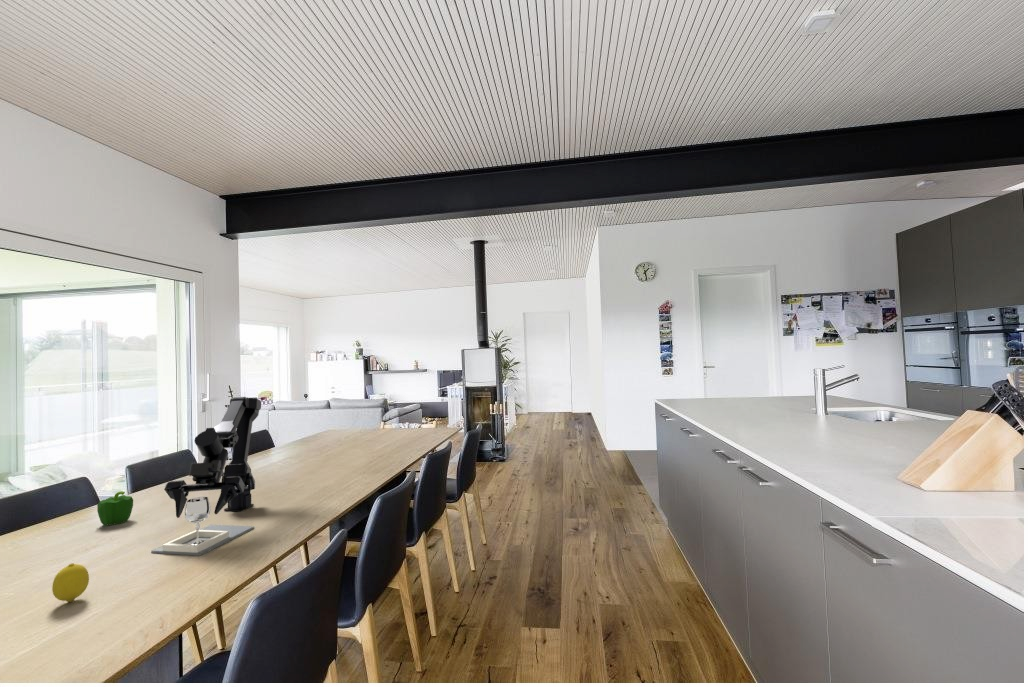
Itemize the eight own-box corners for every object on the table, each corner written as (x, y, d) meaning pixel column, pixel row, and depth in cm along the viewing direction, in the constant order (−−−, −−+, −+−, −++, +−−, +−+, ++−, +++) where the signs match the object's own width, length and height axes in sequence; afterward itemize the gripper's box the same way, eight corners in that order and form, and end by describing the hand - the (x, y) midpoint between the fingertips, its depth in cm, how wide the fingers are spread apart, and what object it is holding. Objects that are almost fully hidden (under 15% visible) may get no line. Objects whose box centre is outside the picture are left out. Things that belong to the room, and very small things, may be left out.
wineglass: (210, 544, 123) (210, 499, 123) (184, 549, 119) (184, 504, 120) (210, 537, 127) (210, 494, 128) (185, 542, 124) (185, 498, 125)
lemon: (68, 596, 97) (68, 558, 98) (95, 594, 98) (96, 557, 98) (44, 610, 92) (44, 570, 92) (73, 608, 92) (73, 568, 93)
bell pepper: (91, 526, 141) (92, 494, 141) (122, 517, 148) (122, 486, 149) (107, 529, 138) (107, 496, 138) (138, 520, 145) (138, 489, 146)
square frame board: (151, 552, 119) (151, 544, 119) (210, 526, 138) (210, 519, 138) (200, 555, 117) (200, 547, 117) (254, 528, 135) (254, 521, 135)
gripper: (167, 452, 127) (145, 504, 116) (241, 448, 131) (226, 497, 120) (181, 473, 134) (161, 524, 123) (250, 468, 139) (237, 517, 128)
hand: (196, 515), depth 123 cm, fingers open, 9 cm apart
